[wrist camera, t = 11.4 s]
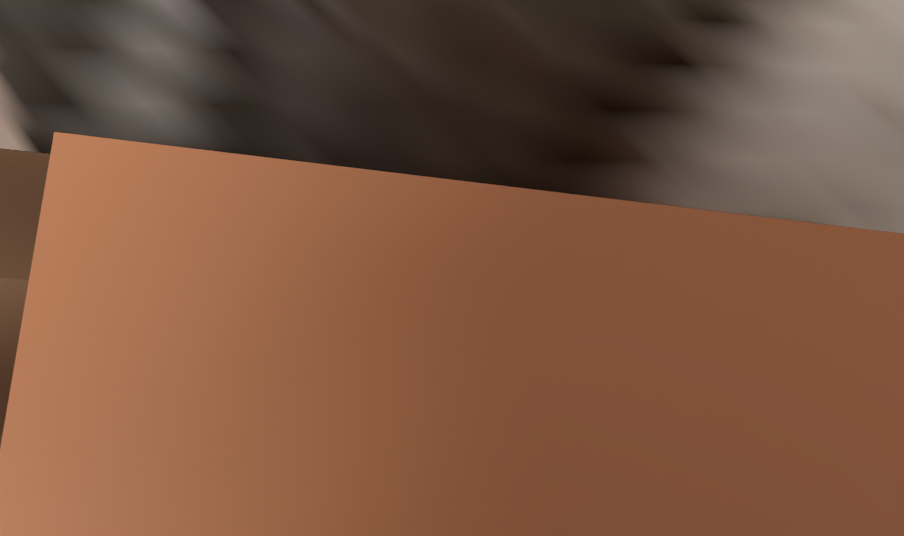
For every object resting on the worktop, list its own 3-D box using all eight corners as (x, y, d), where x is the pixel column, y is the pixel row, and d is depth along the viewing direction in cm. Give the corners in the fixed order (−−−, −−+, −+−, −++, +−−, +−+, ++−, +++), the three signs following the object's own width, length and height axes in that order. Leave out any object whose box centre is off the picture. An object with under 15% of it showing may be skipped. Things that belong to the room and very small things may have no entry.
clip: (491, 542, 17) (1093, 754, 5) (188, 534, 16) (-57, 788, 4) (495, 396, 18) (1031, 248, 5) (206, 377, 17) (52, 130, 4)
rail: (843, 719, 18) (933, 758, 16) (-353, 753, 13) (-485, 816, 11) (813, 269, 20) (887, 243, 18) (-213, 168, 16) (-298, 117, 13)
